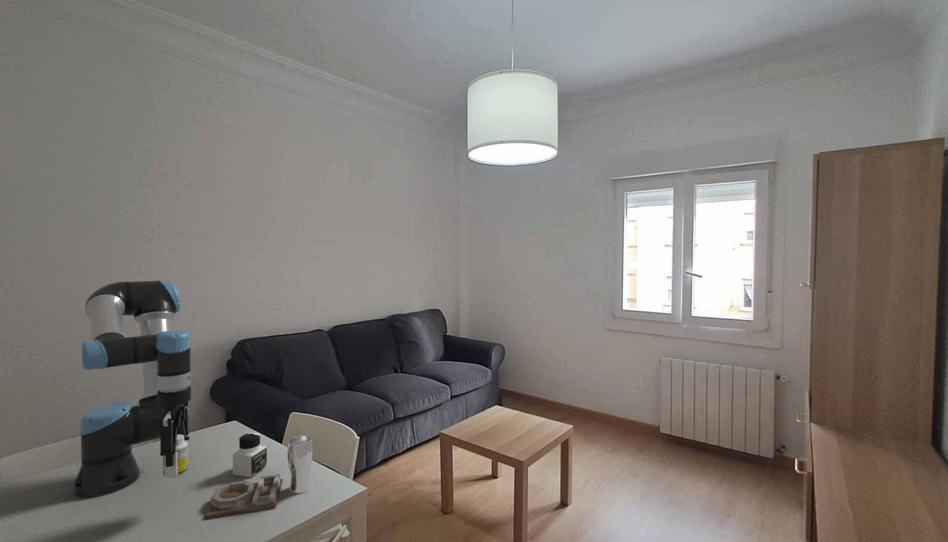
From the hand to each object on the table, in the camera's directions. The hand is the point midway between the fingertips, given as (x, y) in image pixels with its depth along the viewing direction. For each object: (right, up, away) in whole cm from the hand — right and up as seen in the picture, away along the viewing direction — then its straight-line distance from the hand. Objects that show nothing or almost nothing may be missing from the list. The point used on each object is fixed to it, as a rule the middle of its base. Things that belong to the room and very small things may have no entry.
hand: (175, 470), depth 115 cm
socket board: (+17, -11, +5) cm, 21 cm away
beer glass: (+30, -11, +11) cm, 34 cm away
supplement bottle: (0, -1, 0) cm, 1 cm away
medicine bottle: (+9, -10, +21) cm, 25 cm away
